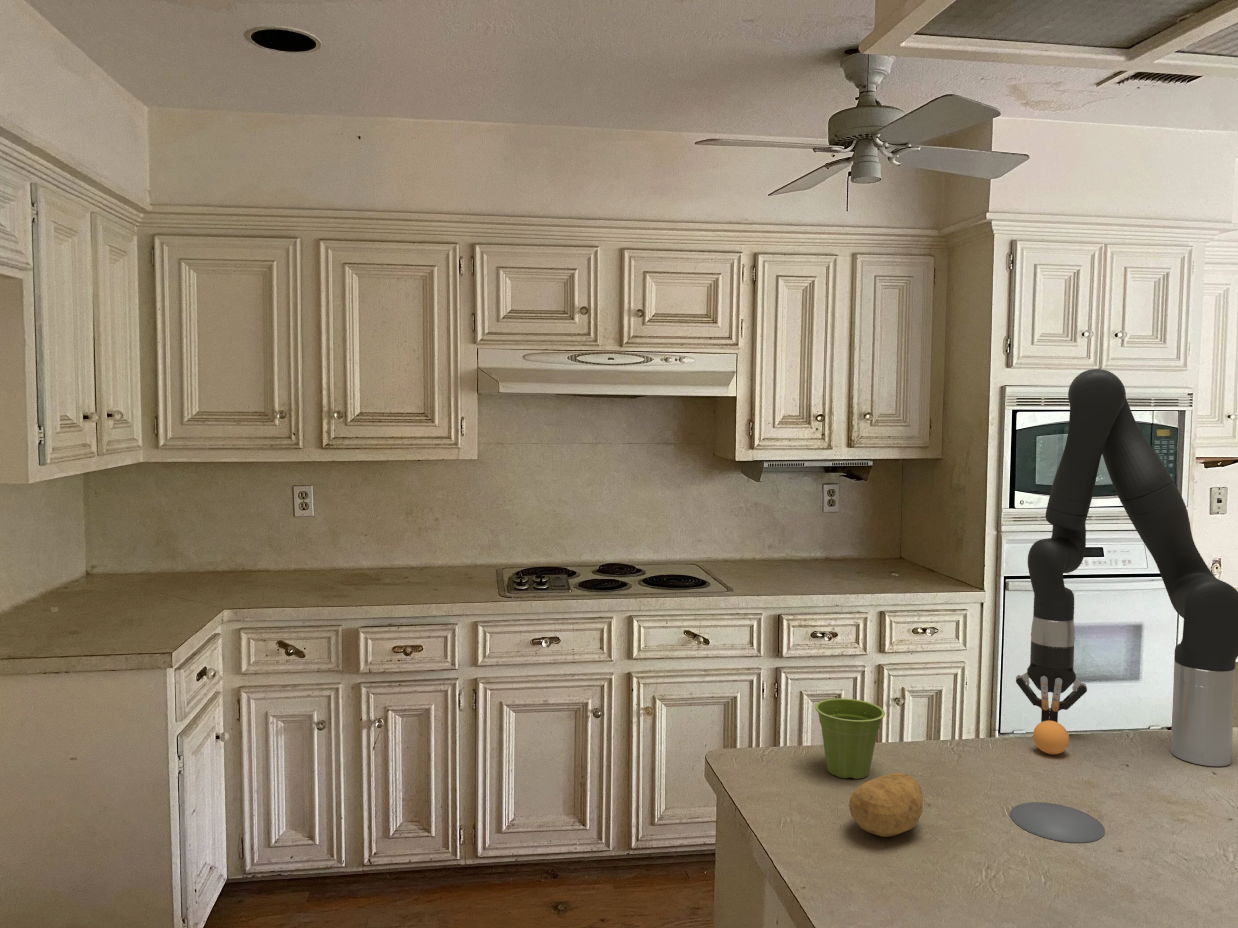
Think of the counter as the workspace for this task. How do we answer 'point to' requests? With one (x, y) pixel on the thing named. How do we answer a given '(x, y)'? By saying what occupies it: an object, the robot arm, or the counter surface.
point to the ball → (1051, 737)
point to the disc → (1057, 822)
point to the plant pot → (849, 735)
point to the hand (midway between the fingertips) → (1049, 727)
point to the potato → (887, 804)
